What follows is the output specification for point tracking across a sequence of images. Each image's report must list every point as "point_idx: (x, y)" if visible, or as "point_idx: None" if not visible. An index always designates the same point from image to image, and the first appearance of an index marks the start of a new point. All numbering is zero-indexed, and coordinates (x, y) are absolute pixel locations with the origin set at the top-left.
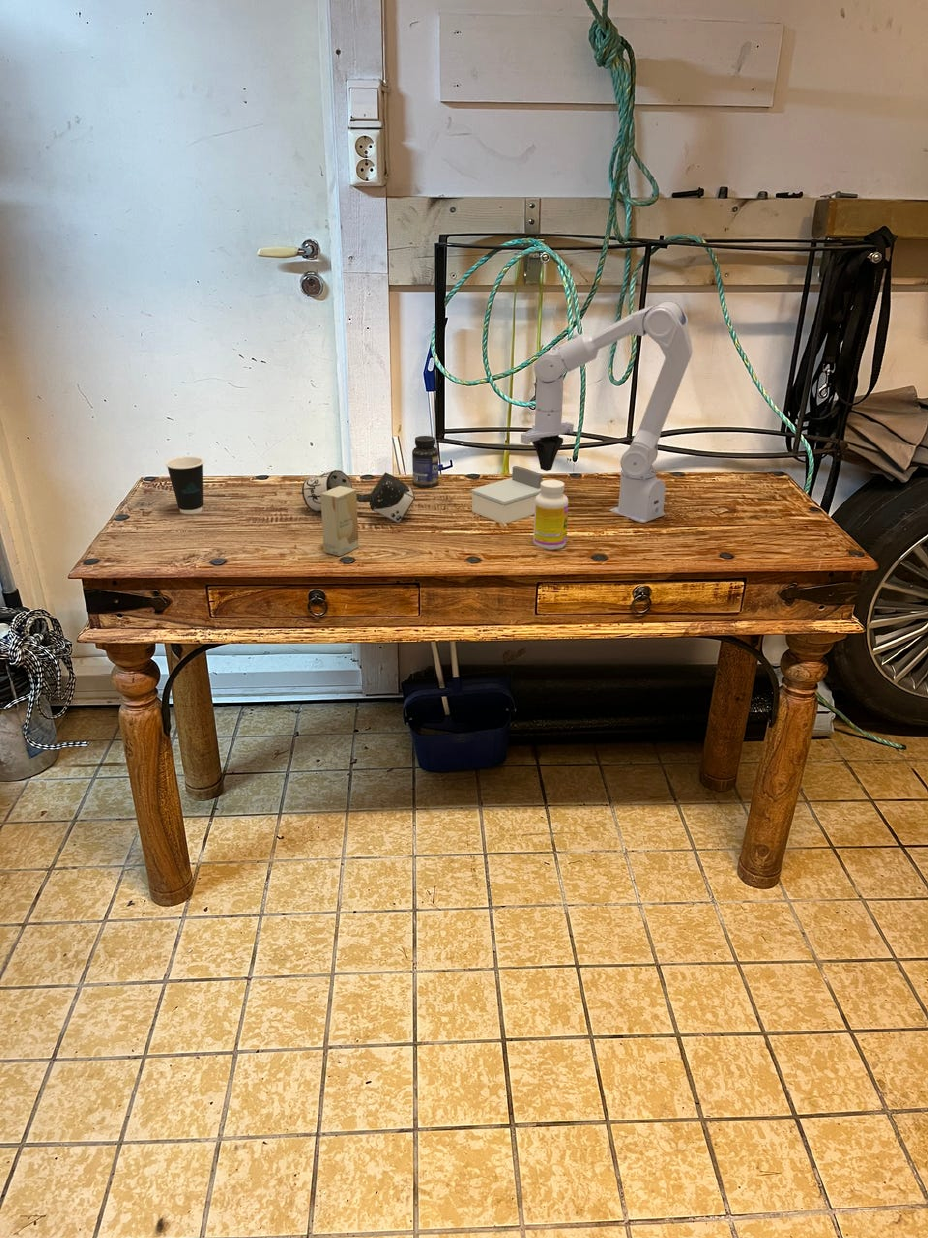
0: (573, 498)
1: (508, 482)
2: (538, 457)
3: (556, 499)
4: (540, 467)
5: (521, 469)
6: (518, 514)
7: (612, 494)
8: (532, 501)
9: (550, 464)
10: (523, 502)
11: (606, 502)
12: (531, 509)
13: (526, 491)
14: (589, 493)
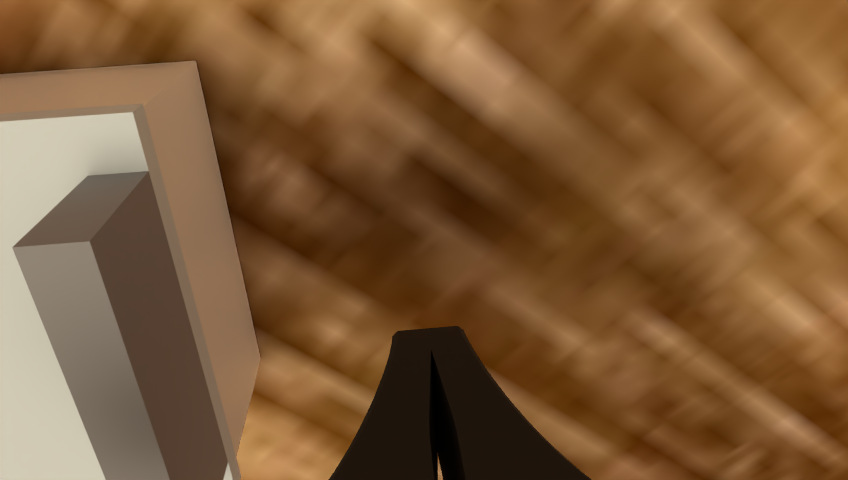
0: (613, 274)
1: (4, 216)
2: (365, 417)
3: None
4: (392, 341)
5: (73, 376)
6: None
7: (842, 350)
8: None
9: (437, 473)
10: None
11: (693, 417)
12: None
13: (54, 462)
14: (769, 264)
